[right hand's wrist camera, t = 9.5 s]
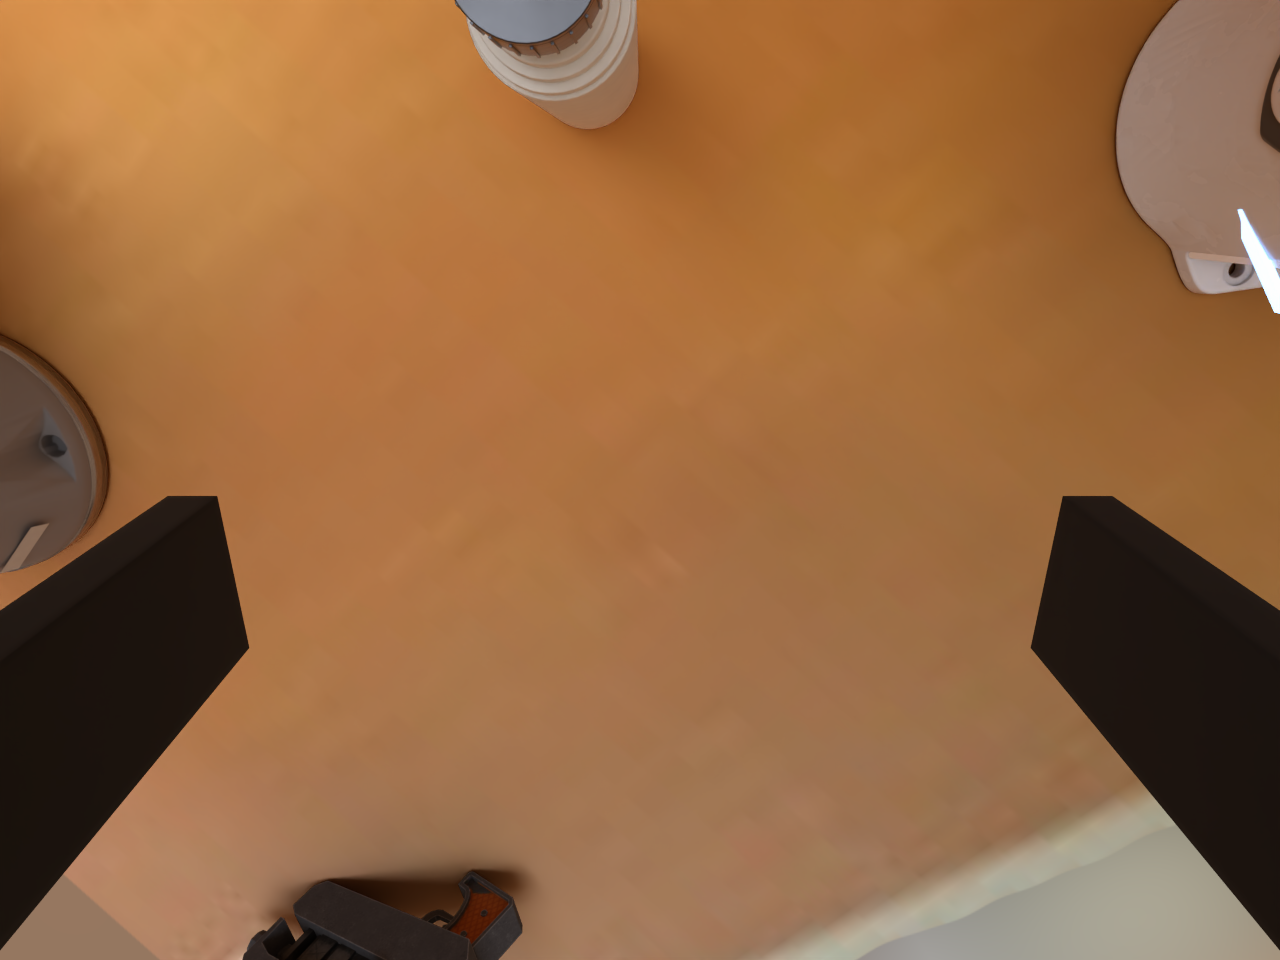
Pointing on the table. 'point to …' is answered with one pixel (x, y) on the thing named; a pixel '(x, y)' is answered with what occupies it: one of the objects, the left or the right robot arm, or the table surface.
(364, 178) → the table surface
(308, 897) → the tool
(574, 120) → the bottle
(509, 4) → the cap
